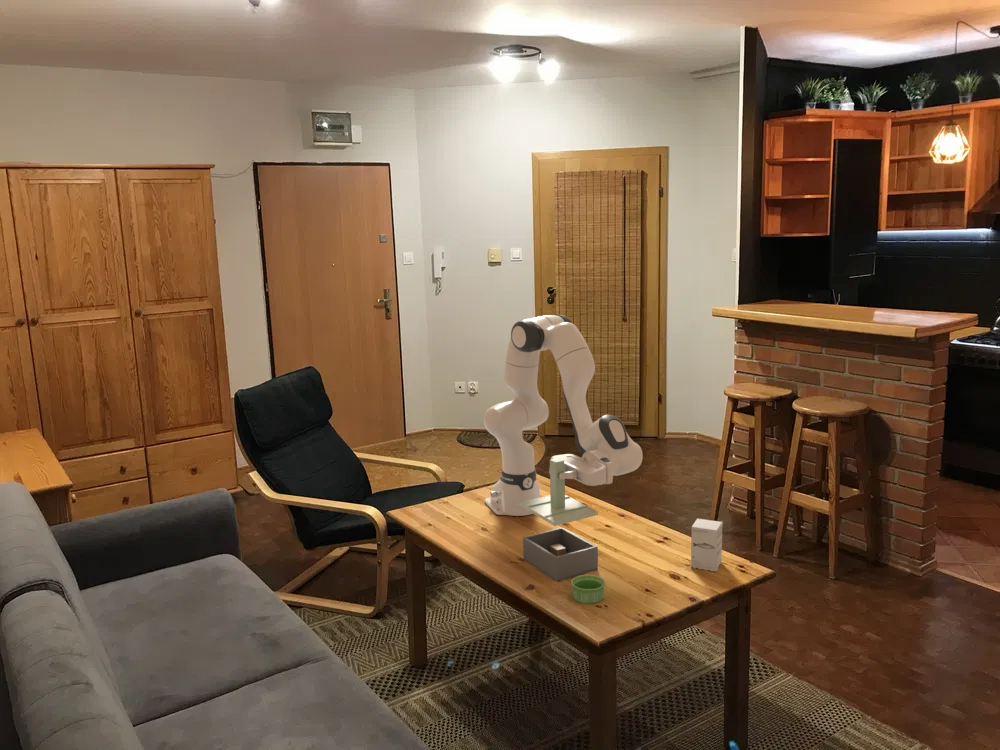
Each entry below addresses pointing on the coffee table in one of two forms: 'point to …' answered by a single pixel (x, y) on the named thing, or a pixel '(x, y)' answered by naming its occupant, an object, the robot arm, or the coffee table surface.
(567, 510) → the grooved base with post
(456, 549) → the coffee table surface
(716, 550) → the supplement box
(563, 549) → the tub
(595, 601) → the ramekin
